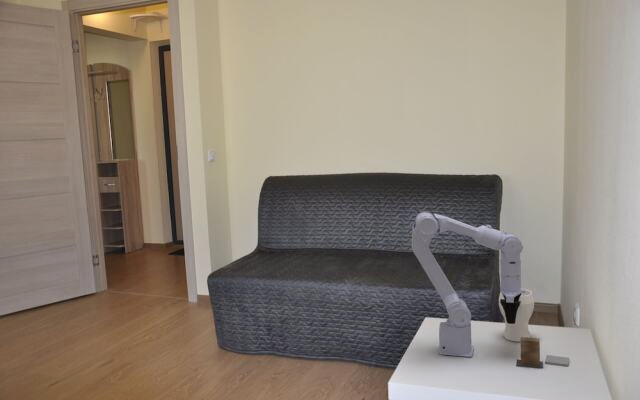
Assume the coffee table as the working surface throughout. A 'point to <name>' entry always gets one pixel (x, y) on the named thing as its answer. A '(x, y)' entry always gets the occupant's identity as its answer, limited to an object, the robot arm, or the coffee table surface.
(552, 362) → the tile
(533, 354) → the brown wooden block
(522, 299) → the cream vase
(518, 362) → the pad
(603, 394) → the coffee table surface
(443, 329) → the robot arm
